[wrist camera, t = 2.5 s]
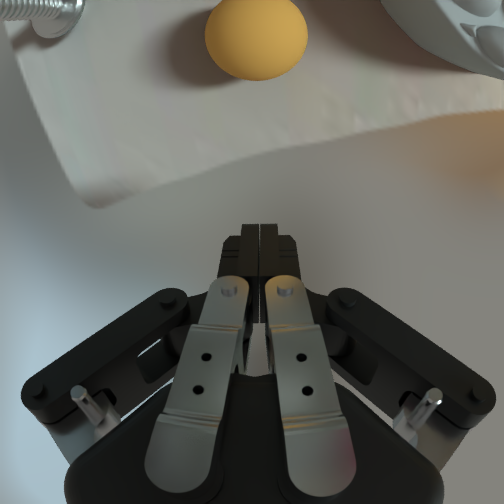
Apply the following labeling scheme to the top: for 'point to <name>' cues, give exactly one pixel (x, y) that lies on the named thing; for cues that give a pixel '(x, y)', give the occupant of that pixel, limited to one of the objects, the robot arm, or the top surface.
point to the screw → (44, 14)
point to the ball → (256, 37)
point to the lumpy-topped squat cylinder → (455, 31)
